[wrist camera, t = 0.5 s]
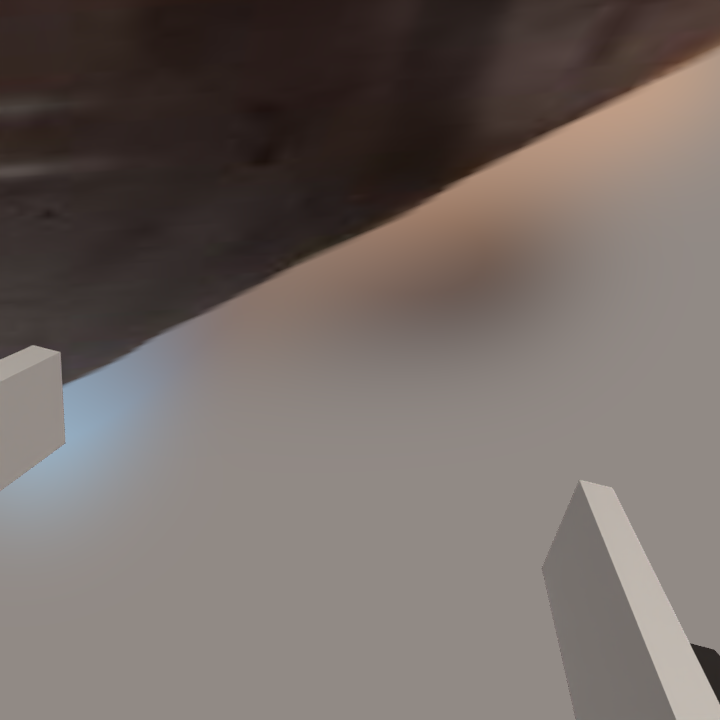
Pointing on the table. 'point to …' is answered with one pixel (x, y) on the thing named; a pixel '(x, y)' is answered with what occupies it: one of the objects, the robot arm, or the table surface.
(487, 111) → the table surface
